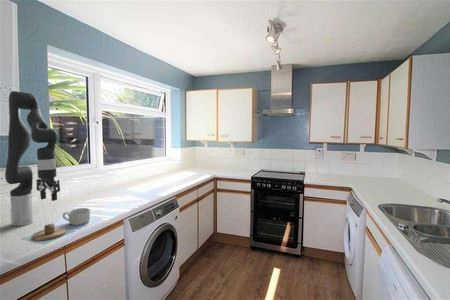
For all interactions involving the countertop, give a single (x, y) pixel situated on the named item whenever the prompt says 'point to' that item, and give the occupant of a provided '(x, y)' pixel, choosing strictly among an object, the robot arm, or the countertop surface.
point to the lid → (49, 233)
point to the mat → (47, 240)
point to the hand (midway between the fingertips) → (48, 199)
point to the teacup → (78, 216)
